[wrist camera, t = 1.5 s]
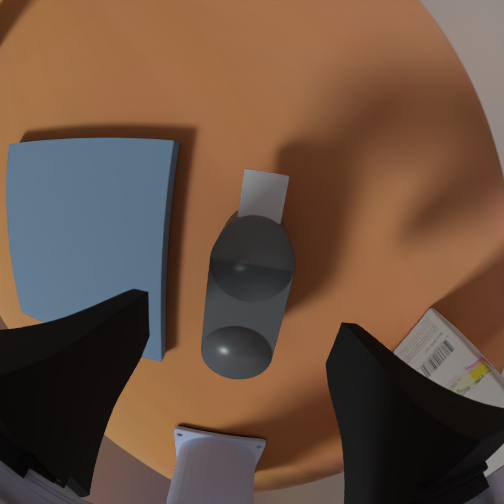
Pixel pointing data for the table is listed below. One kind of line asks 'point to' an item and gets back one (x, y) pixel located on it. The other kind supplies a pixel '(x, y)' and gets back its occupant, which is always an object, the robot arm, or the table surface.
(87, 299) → the blue-grey mat
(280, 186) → the dark grey rounded block
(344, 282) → the table surface
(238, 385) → the table surface
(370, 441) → the robot arm
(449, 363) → the ink cartridge box
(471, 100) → the table surface
